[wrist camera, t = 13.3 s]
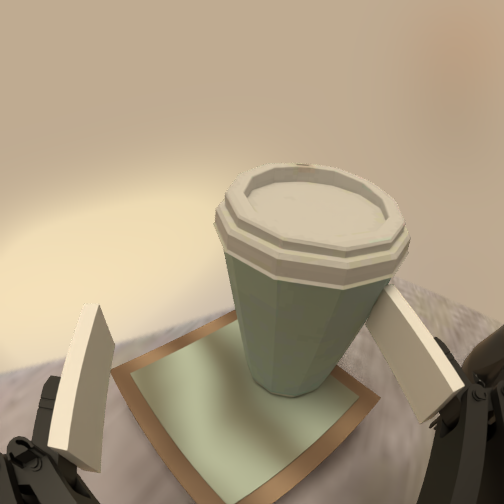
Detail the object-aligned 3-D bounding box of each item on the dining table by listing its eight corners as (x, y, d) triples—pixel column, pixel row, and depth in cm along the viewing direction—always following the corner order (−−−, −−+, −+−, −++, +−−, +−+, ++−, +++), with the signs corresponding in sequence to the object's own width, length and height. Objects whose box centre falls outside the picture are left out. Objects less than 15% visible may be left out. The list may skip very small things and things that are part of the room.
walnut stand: (250, 337, 33) (254, 296, 29) (356, 426, 23) (382, 395, 19) (128, 402, 24) (107, 367, 20) (227, 533, 14) (225, 534, 10)
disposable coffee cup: (360, 414, 18) (461, 245, 10) (215, 424, 17) (200, 233, 9) (331, 319, 27) (371, 168, 19) (219, 319, 26) (220, 155, 18)
